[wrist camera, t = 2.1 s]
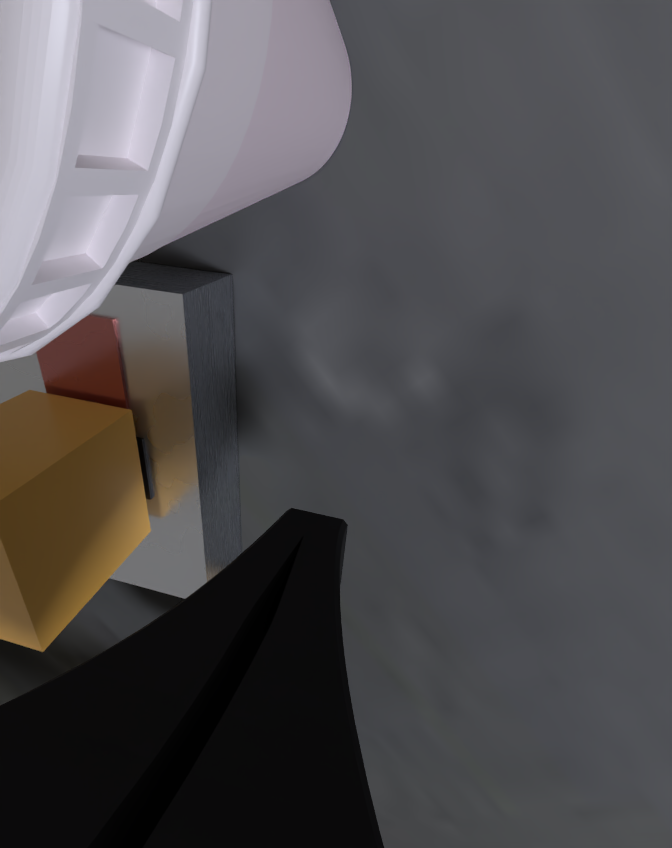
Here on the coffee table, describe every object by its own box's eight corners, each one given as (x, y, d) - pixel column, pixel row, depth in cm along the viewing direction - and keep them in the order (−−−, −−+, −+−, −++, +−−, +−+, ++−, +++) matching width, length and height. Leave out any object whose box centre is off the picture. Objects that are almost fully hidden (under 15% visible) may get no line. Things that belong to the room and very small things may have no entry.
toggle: (150, 530, 13) (37, 658, 10) (62, 509, 14) (-77, 622, 10) (131, 410, 11) (-19, 513, 8) (29, 389, 12) (-156, 478, 8)
